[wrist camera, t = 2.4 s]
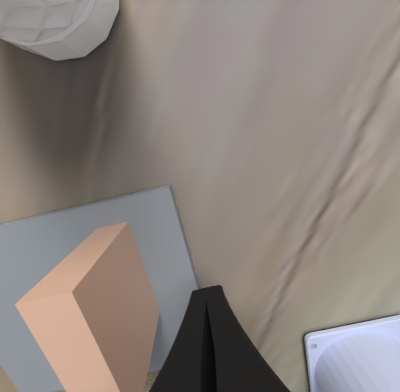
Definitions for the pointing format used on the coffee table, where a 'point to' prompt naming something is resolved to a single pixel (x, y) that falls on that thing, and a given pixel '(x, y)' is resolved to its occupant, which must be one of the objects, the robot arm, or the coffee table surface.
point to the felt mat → (63, 245)
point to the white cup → (57, 25)
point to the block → (96, 314)
